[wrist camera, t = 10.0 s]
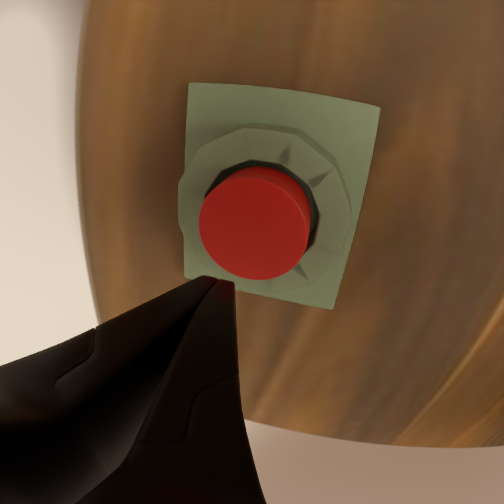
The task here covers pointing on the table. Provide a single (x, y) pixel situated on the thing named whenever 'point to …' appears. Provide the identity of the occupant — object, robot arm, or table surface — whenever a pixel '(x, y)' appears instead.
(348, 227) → the switch block
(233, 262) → the button
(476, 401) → the table surface
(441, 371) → the table surface
